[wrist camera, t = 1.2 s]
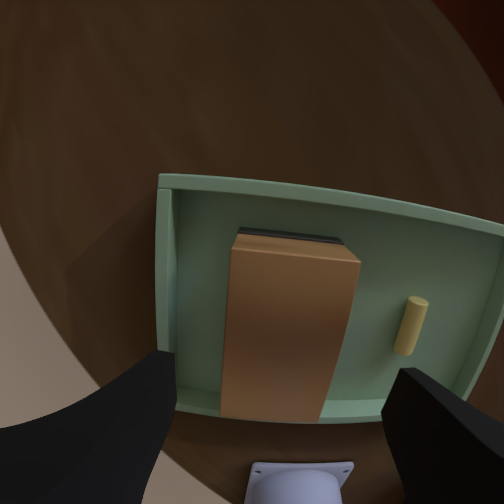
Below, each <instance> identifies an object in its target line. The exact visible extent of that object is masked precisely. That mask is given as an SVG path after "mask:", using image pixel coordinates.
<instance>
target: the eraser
mask: <svg viewBox="0 0 504 504" xmlns="http://www.w3.org/2000/svg"><path fill="white" fill-rule="evenodd" d="M360 267H361V261H360V260H359V259H358V258H357V257H356V256H355V255H354V254H353V253H352V252H351V251H349V250H348V249H347V248H346V247H345V246H344V242H343V241H342V240H341V239H339V238H337V237H329V236H320V235H312V234H303V233H294V232H285V231H276V230H267V229H257V228H248V227H239V229H238V231H237V236H236V238H235V240H234V243H233V245H232V247H231V249H230V261H229V274H228V287H227V300H226V314H225V329H224V344H223V359H222V376H221V394H220V413H219V415H220V416H221V417H228V418H237V419H247V420H258V421H272V422H292V423H317V422H318V420H319V418H320V415H321V412H322V409H323V406H324V403H325V400H326V397H327V394H328V391H329V388H330V385H331V382H332V378H333V375H334V372H335V368H336V365H337V362H338V358H339V355H340V351H341V348H342V344H343V340H344V337H345V333H346V329H347V325H348V321H349V317H350V313H351V309H352V304H353V300H354V296H355V291H356V287H357V282H358V277H359V272H360Z"/></svg>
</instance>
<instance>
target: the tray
mask: <svg viewBox="0 0 504 504" xmlns="http://www.w3.org/2000/svg"><path fill="white" fill-rule="evenodd" d="M158 188H159V189H158V190H157V207H156V233H155V301H156V327H157V345H158V350H161V351H167V352H172V353H175V372H176V390H177V403H176V407H175V410H178V411H183V412H189V413H195V414H201V415H207V416H214V417H221V416H220V415H219V413H220V394H221V376H222V359H223V344H224V329H225V314H226V300H227V287H228V274H229V261H230V249H231V247H232V245H233V243H234V240H235V238H236V236H237V231H238V229H239V227H248V228H257V229H267V230H276V231H285V232H294V233H303V234H312V235H320V236H329V237H337V238H339V239H341V240H342V241H343V242H344V246H345V247H346V248H347V249H348V250H349V251H351V252H352V253H353V254H354V255H355V256H356V257H357V258H358V259H359V260H360V261H361V267H360V272H359V277H358V282H357V287H356V291H355V296H354V300H353V304H352V309H351V313H350V317H349V321H348V325H347V329H346V333H345V337H344V340H343V344H342V348H341V351H340V355H339V358H338V362H337V365H336V368H335V372H334V375H333V378H332V382H331V385H330V388H329V391H328V394H327V397H326V400H325V403H324V406H323V409H322V412H321V415H320V418H319V420H318V422H317V423H299V424H337V423H360V422H375V421H382V417H381V410H382V408H383V406H384V404H385V401H386V399H387V397H388V395H389V393H390V390H391V388H392V386H393V384H394V381H395V379H396V376H397V374H398V372H399V369H400V368H411V367H415V368H417V369H419V370H420V371H422V372H424V373H425V374H427V375H428V376H430V377H431V378H433V379H434V380H436V381H437V382H438V383H440V384H441V385H443V386H444V387H445V388H447V389H448V390H450V391H451V392H453V393H454V394H455V395H457V396H458V397H460V398H461V399H463V400H464V401H466V399H467V397H468V396H469V394H470V392H471V390H472V388H473V386H474V385H475V383H476V381H477V379H478V377H479V375H480V373H481V371H482V369H483V366H484V364H485V362H486V360H487V358H488V356H489V353H490V351H491V349H492V347H493V344H494V342H495V339H496V337H497V334H498V332H499V329H500V327H501V324H502V321H503V319H504V225H502V224H499V223H495V222H491V221H488V220H484V219H480V218H476V217H472V216H468V215H464V214H460V213H456V212H451V211H447V210H443V209H438V208H434V207H429V206H424V205H419V204H415V203H410V202H405V201H399V200H394V199H389V198H383V197H378V196H372V195H366V194H360V193H354V192H348V191H341V190H334V189H328V188H320V187H313V186H306V185H298V184H290V183H281V182H272V181H263V180H253V179H242V178H231V177H218V176H205V175H189V174H159V177H158ZM410 296H417V297H421V298H424V299H425V300H427V301H428V302H429V306H428V309H427V312H426V316H425V319H424V322H423V325H422V328H421V331H420V334H419V336H418V339H417V342H416V345H415V347H414V350H413V353H412V354H411V355H409V356H402V355H399V354H397V353H395V352H394V350H393V345H394V342H395V339H396V336H397V333H398V330H399V327H400V323H401V320H402V317H403V313H404V310H405V307H406V303H407V299H408V297H410ZM222 418H228V417H222ZM230 419H237V418H230ZM239 420H247V419H239ZM249 421H258V420H249ZM260 422H272V421H260ZM275 423H292V422H275Z"/></svg>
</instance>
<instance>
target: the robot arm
mask: <svg viewBox="0 0 504 504" xmlns="http://www.w3.org/2000/svg"><path fill="white" fill-rule="evenodd" d="M176 403H177V390H176V372H175V353H172V352H167V351H161V350H155V351H153V352H152V353H150V354H149V355H148V356H146V357H145V358H143V359H142V360H141V361H139V362H138V363H137V364H135V365H134V366H133V367H131V368H130V369H129V370H127V371H126V372H124V373H123V374H121V375H120V376H119V377H117V378H116V379H114V380H113V381H111V382H110V383H108V384H107V385H105V386H104V387H102V388H100V389H99V390H97V391H95V392H94V393H92V394H90V395H89V396H87V397H86V398H84V399H82V400H80V401H78V402H76V403H74V404H72V405H70V406H68V407H66V408H63V409H61V410H59V411H57V412H54V413H52V414H49V415H46V416H43V417H40V418H38V419H35V420H32V421H28V422H25V423H22V424H18V425H14V426H10V427H5V428H0V504H141V502H142V499H143V494H144V491H145V488H146V485H147V482H148V479H149V477H150V474H151V472H152V470H153V467H154V465H155V462H156V460H157V458H158V455H159V452H160V450H161V448H162V446H163V443H164V441H165V438H166V436H167V433H168V431H169V428H170V426H171V422H172V419H173V415H174V411H175V407H176ZM381 417H382V422H383V427H384V432H385V436H386V439H387V442H388V445H389V448H390V450H391V453H392V456H393V459H394V461H395V464H396V467H397V470H398V473H399V475H400V478H401V481H402V484H403V487H404V491H405V495H406V500H407V504H504V424H503V423H501V422H499V421H497V420H495V419H493V418H492V417H490V416H488V415H486V414H485V413H483V412H481V411H480V410H478V409H476V408H475V407H473V406H472V405H470V404H469V403H467V402H466V401H464V400H463V399H461V398H460V397H458V396H457V395H455V394H454V393H453V392H451V391H450V390H448V389H447V388H445V387H444V386H443V385H441V384H440V383H438V382H437V381H436V380H434V379H433V378H431V377H430V376H428V375H427V374H425V373H424V372H422V371H420V370H419V369H417V368H415V367H411V368H400V369H399V372H398V374H397V376H396V379H395V381H394V384H393V386H392V388H391V390H390V393H389V395H388V397H387V399H386V401H385V404H384V406H383V408H382V410H381ZM353 468H354V464H353V462H337V463H311V464H290V463H264V462H256V463H253V464H252V467H251V472H250V477H249V482H248V486H247V491H246V496H245V500H244V504H342V499H341V494H340V488H341V486H342V485H343V483H344V482H345V480H346V479H347V477H348V476H349V474H350V473H351V471H352V469H353Z"/></svg>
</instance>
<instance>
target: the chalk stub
mask: <svg viewBox="0 0 504 504" xmlns="http://www.w3.org/2000/svg"><path fill="white" fill-rule="evenodd" d="M428 306H429V302H428V301H427V300H425V299H424V298H421V297H417V296H410V297H408V299H407V303H406V307H405V310H404V313H403V317H402V320H401V323H400V327H399V330H398V333H397V336H396V339H395V342H394V345H393V350H394V352H395V353H397V354H399V355H402V356H409V355H411V354H412V353H413V350H414V347H415V345H416V342H417V339H418V336H419V334H420V331H421V328H422V325H423V322H424V319H425V316H426V312H427V309H428Z"/></svg>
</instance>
